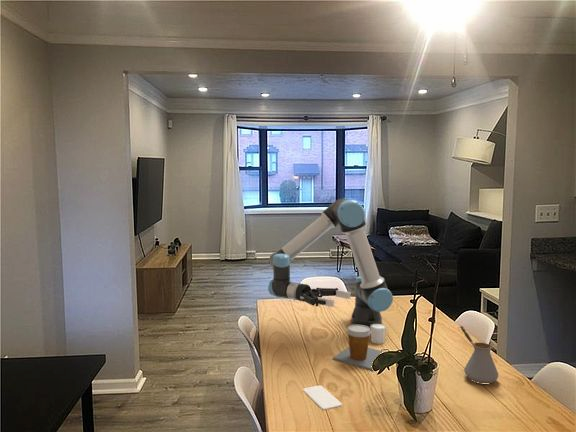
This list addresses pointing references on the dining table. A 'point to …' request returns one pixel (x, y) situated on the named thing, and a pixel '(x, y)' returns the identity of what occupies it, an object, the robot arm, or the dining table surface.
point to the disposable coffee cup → (358, 341)
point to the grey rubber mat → (365, 364)
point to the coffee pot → (480, 363)
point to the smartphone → (322, 397)
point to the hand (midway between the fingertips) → (341, 299)
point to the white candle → (378, 333)
